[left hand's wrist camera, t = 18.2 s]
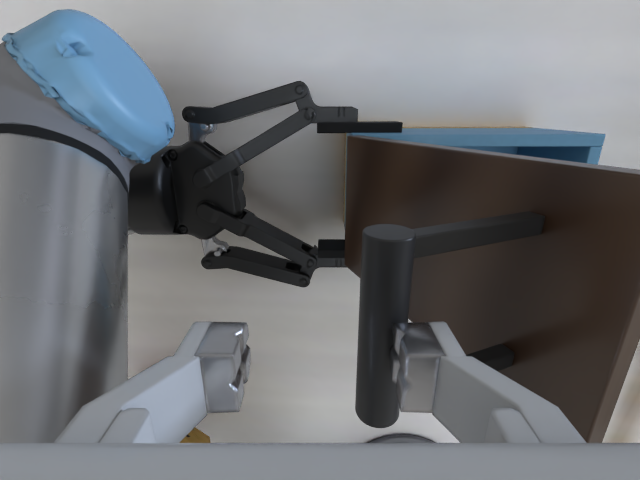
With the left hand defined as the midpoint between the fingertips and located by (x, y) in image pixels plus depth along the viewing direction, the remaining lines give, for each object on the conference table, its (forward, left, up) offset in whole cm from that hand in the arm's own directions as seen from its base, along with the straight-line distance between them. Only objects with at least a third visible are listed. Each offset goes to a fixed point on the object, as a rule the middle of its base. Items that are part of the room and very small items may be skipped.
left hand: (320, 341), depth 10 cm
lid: (-3, +5, -9) cm, 11 cm away
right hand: (-3, +5, -21) cm, 22 cm away
